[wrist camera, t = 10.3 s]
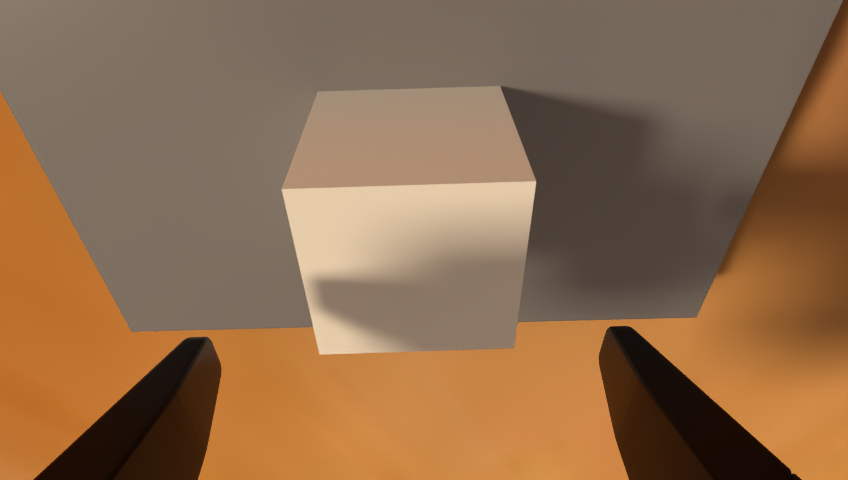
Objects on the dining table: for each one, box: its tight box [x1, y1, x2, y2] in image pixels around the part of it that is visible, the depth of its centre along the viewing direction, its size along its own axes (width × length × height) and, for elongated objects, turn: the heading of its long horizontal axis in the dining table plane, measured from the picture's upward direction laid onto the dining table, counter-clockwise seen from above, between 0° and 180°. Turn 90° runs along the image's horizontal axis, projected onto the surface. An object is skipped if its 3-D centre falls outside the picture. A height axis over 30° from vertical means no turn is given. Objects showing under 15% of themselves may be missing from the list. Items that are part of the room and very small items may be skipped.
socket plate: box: [0, 0, 843, 332], centre depth 17 cm, size 22×14×3 cm, turn 91°
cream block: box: [282, 86, 536, 354], centre depth 14 cm, size 5×5×8 cm
